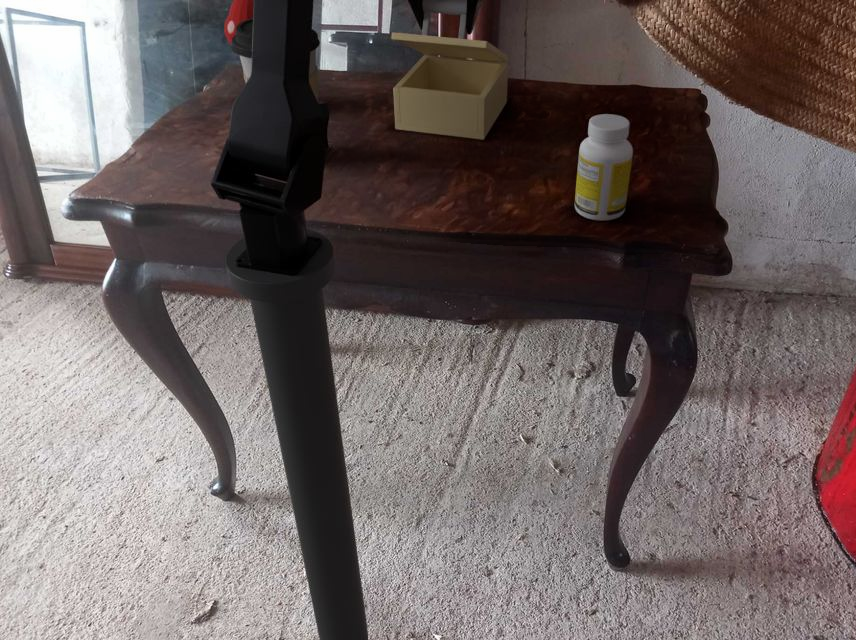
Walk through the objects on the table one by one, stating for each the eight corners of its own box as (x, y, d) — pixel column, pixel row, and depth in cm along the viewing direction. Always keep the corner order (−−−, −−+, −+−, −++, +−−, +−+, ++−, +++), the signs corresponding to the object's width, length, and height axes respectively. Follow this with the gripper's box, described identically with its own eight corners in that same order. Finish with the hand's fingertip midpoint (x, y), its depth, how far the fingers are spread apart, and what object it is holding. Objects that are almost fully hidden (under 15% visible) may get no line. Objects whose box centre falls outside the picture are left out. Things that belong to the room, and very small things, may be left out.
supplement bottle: (623, 198, 86) (635, 111, 80) (626, 223, 82) (639, 134, 76) (573, 196, 87) (581, 109, 81) (573, 221, 83) (582, 131, 76)
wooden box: (483, 139, 98) (484, 98, 95) (395, 129, 100) (392, 88, 97) (506, 102, 107) (508, 62, 104) (425, 93, 110) (424, 54, 106)
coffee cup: (340, 166, 92) (327, 33, 83) (259, 179, 89) (235, 44, 80) (321, 134, 99) (306, 8, 89) (245, 146, 96) (221, 17, 87)
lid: (486, 48, 91) (492, -2, 90) (391, 39, 94) (395, -10, 92) (508, 62, 104) (513, 18, 103) (423, 54, 106) (428, 11, 105)
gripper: (544, -126, 89) (536, 18, 99) (388, -134, 93) (395, 6, 103) (524, -109, 81) (517, 46, 91) (353, -118, 85) (364, 32, 94)
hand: (446, 31), depth 95 cm, fingers closed on lid, 5 cm apart
